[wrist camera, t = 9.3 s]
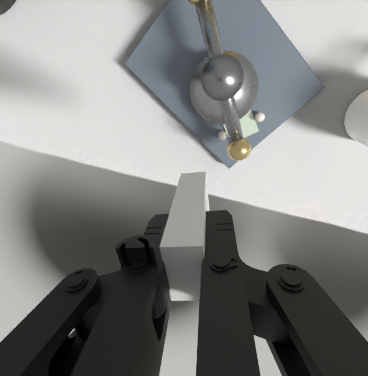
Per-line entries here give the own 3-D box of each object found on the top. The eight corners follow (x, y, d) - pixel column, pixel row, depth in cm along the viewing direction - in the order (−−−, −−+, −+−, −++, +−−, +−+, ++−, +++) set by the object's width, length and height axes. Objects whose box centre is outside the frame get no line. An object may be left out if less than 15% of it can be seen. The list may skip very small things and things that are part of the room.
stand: (129, 64, 33) (121, 63, 30) (213, -54, 26) (213, -70, 23) (228, 164, 38) (229, 171, 35) (318, 86, 32) (329, 87, 29)
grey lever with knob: (162, 1, 27) (150, -19, 22) (234, -34, 25) (241, -66, 20) (209, 157, 36) (209, 172, 30) (267, 141, 33) (278, 153, 28)
